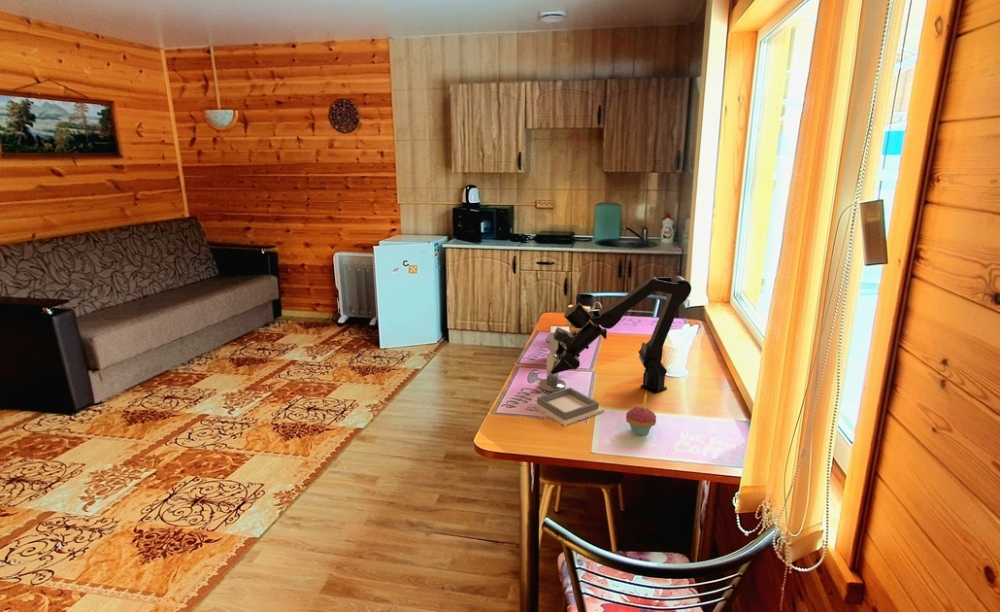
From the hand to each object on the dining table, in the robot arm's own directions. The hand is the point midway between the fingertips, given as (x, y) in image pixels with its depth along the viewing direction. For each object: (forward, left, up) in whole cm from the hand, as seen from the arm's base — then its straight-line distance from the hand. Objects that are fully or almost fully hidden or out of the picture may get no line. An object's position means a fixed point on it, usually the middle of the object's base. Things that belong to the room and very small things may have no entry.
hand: (550, 367), depth 187 cm
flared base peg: (0, -1, -7) cm, 7 cm away
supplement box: (+18, -19, -8) cm, 27 cm away
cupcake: (-38, -3, -8) cm, 39 cm away
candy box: (+30, -39, -8) cm, 49 cm away
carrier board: (-15, +5, -7) cm, 18 cm away
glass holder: (+39, -53, -8) cm, 66 cm away
